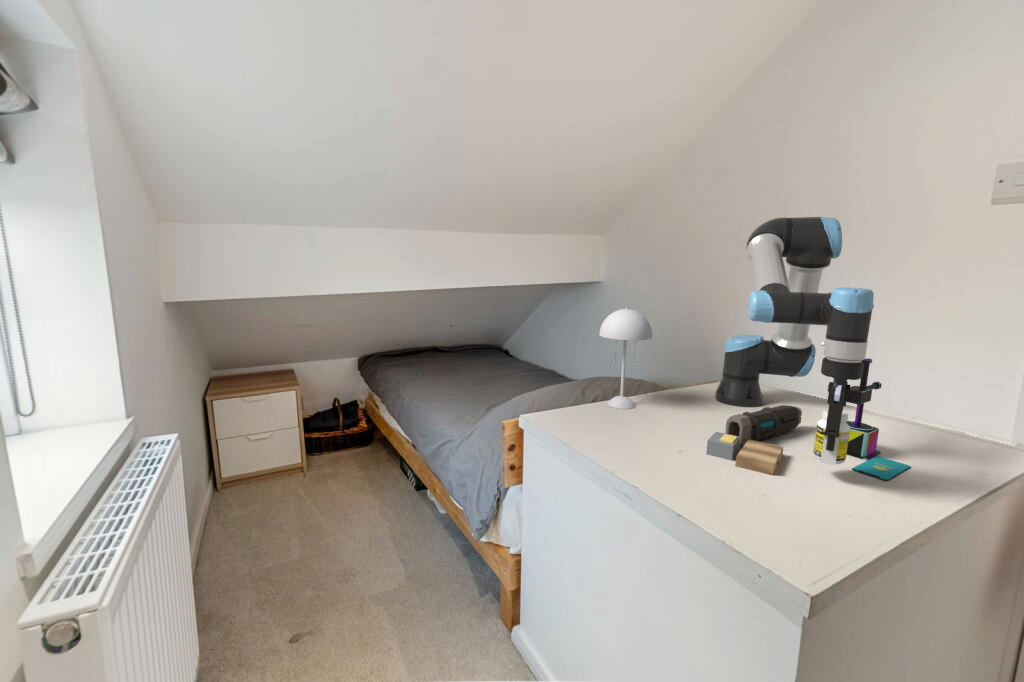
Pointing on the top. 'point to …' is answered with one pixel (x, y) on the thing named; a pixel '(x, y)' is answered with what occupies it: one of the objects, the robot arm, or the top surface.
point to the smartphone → (881, 468)
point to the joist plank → (759, 456)
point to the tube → (763, 423)
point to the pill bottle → (843, 438)
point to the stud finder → (723, 445)
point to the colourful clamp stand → (861, 434)
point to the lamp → (625, 342)
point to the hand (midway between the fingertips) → (829, 457)
